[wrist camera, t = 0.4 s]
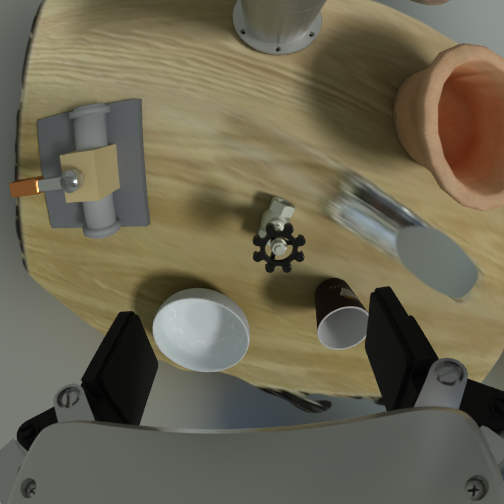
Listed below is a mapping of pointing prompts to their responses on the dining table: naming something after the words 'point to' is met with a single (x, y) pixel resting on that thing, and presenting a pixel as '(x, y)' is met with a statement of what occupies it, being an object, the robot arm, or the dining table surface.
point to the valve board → (127, 159)
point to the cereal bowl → (201, 330)
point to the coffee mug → (339, 315)
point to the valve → (277, 236)
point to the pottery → (457, 123)
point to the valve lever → (48, 184)
